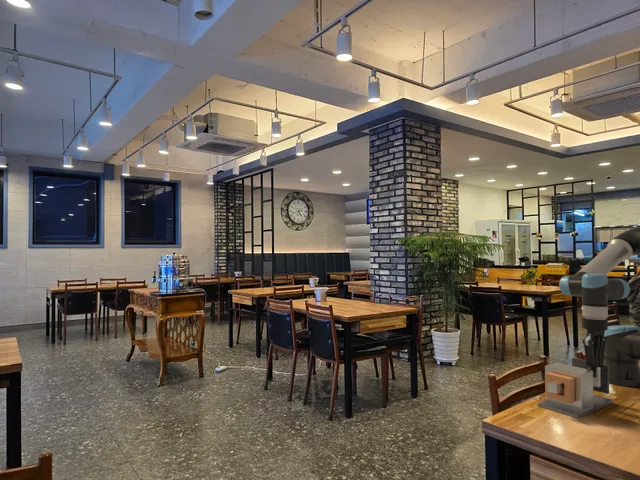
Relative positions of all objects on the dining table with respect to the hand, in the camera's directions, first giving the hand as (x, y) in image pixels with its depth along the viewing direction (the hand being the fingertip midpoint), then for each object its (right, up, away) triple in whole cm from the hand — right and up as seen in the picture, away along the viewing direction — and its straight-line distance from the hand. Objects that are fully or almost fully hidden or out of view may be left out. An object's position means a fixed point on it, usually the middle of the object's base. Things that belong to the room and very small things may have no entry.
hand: (595, 385), depth 147 cm
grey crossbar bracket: (-8, -3, 0) cm, 9 cm away
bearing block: (-6, -7, +1) cm, 9 cm away
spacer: (-15, -3, -5) cm, 16 cm away
